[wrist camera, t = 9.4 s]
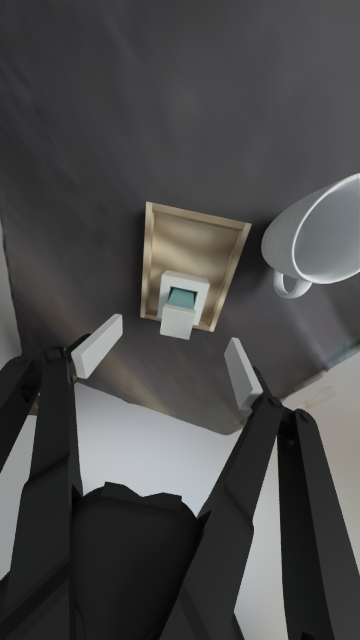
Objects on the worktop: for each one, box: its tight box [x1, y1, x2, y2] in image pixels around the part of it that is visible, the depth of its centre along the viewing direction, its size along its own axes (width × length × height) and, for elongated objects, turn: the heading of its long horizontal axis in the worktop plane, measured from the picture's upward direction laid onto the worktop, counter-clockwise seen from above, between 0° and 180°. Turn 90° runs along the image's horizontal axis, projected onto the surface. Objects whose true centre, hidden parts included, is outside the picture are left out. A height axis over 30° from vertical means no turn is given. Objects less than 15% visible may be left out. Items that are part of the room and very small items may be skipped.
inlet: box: [157, 270, 210, 325], centre depth 30 cm, size 9×9×6 cm
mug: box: [261, 173, 360, 298], centre depth 22 cm, size 15×11×13 cm
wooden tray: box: [141, 202, 252, 332], centre depth 30 cm, size 22×18×4 cm
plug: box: [160, 287, 196, 340], centre depth 25 cm, size 4×4×12 cm
